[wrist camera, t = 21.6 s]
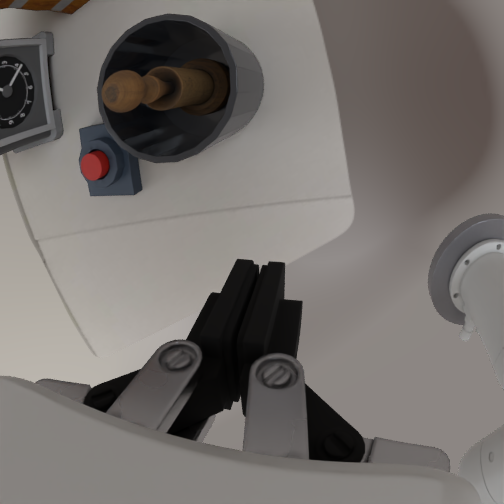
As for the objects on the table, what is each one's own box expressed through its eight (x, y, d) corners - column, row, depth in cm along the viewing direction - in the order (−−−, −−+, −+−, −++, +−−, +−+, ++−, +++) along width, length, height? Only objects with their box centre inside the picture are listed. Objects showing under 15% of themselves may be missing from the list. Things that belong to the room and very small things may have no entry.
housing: (142, 189, 41) (127, 200, 38) (98, 191, 42) (82, 200, 39) (133, 118, 36) (116, 122, 33) (88, 126, 38) (70, 131, 34)
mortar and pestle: (233, 113, 33) (157, 138, 18) (180, 115, 34) (79, 145, 19) (233, 57, 30) (153, 35, 14) (179, 62, 31) (74, 56, 16)
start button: (111, 175, 37) (103, 180, 35) (91, 177, 37) (83, 181, 36) (107, 149, 35) (99, 152, 34) (86, 151, 36) (78, 155, 34)
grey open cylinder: (265, 138, 35) (240, 161, 24) (161, 142, 37) (106, 166, 27) (262, 29, 28) (234, 2, 18) (154, 43, 31) (94, 34, 20)
